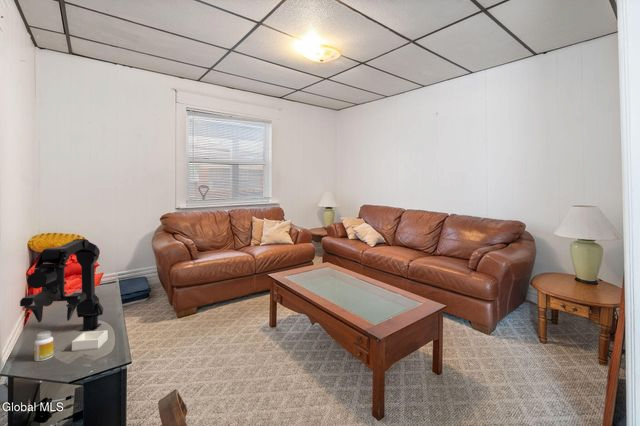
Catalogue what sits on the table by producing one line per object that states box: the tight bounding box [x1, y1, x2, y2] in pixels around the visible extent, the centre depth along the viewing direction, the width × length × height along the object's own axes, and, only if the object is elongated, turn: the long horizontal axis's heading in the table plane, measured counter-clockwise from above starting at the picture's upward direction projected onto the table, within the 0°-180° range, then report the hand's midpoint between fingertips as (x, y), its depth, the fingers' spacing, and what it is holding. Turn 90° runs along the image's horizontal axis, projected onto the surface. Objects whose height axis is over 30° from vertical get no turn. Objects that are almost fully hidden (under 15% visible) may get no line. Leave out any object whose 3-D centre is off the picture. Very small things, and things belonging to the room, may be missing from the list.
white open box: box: [71, 329, 109, 352], centre depth 124 cm, size 9×9×4 cm
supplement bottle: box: [33, 330, 54, 362], centre depth 113 cm, size 5×5×10 cm
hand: (54, 321), depth 112 cm, fingers open, 9 cm apart
